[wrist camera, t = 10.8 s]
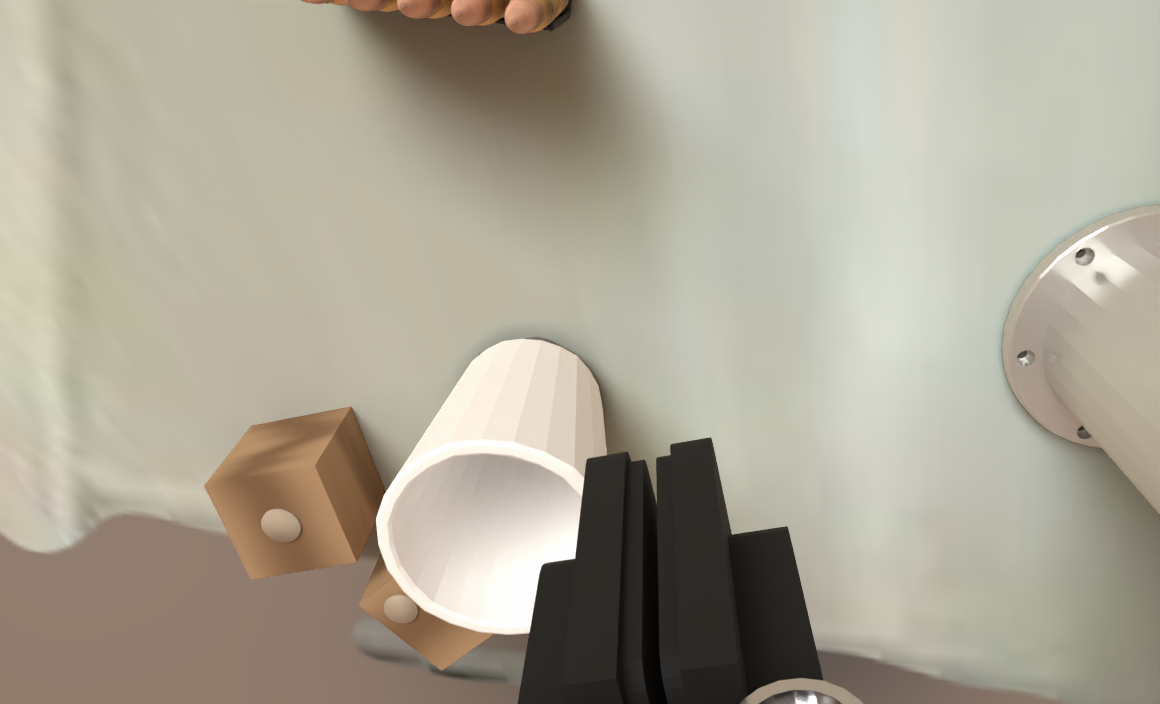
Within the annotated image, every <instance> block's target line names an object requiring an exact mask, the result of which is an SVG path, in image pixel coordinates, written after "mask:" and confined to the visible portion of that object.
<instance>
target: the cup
mask: <svg viewBox="0 0 1160 704" xmlns="http://www.w3.org/2000/svg"><path fill="white" fill-rule="evenodd" d="M605 455H607V448H606V438H605V428H604V418H603V408H602V400H601V396H600V390H599V387H598V383H597V381H596V379H595V377H594V375H593V374H592V373H591V372H590V370H589V369H588V368H587V367H586V365H585V364H584V363H583V362H582V361H581V360H580V359H579V358H578V356H576V355H574V354H573V353H571V352H569V351H567V350H566V349H564V348H562V347H560V346H559V345H557V344H555V343H553V342H552V341H550V340H548V339H544V338H538V337H533V338H525V339H516V340H508V341H502V342H500V343H498V344H496V345H494V346H492V347H490V348H488V349H486V350H485V351H484V352H482V353H480V354H479V355H478V356H477V357H476V358H475V359H474V360H473V361H472V362H471V364H470V365H469V366H468V368H467V369H466V371H465V372H464V374H463V375H462V377H461V378H460V380H459V381H458V383H457V384H456V386H455V387H454V389H453V391H452V392H451V394H450V395H449V397H448V398H447V400H446V401H445V403H444V404H443V406H442V407H441V409H440V410H439V412H438V413H437V415H436V416H435V418H434V420H433V421H432V423H431V424H430V426H429V427H428V429H427V430H426V432H425V433H424V435H423V436H422V438H421V439H420V441H419V442H418V444H417V445H416V447H415V449H414V450H413V452H412V453H411V455H410V456H409V458H408V459H407V461H406V462H405V464H404V465H403V467H402V468H401V470H400V471H399V473H398V474H397V476H396V478H395V479H394V481H393V482H392V484H391V485H390V487H389V488H388V490H387V491H386V493H385V494H384V496H383V499H382V502H381V505H380V508H379V511H378V514H377V517H376V526H377V536H378V545H379V548H380V551H381V553H382V556H383V559H384V561H385V564H386V567H387V570H388V571H389V572H390V574H391V575H392V576H393V578H394V579H395V581H396V582H397V583H398V585H399V586H400V587H401V589H402V590H403V592H404V593H406V594H407V595H408V596H409V597H410V598H411V599H412V600H413V601H414V602H415V603H416V604H418V605H419V606H420V607H421V608H422V609H423V610H424V611H426V612H428V613H430V614H432V615H434V616H436V617H438V618H440V619H442V620H444V621H446V622H448V623H450V624H453V625H457V626H460V627H463V628H466V629H470V630H473V631H476V632H481V633H492V634H503V635H515V634H528V633H530V627H531V621H532V615H533V609H534V603H535V597H536V591H537V585H538V579H539V574H540V570H541V566H542V565H543V564H544V563H549V562H555V561H562V560H569V559H575V554H576V545H577V537H578V528H579V519H580V510H581V502H582V493H583V484H584V476H585V467H586V461H587V459H588V458H593V457H599V456H605Z"/></svg>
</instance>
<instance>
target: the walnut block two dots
mask: <svg viewBox="0 0 1160 704" xmlns="http://www.w3.org/2000/svg"><path fill="white" fill-rule="evenodd" d="M359 606H361V607H362V608H363V609H364V610H366V611H367V612H368V613H369V614H371V615H372V616H373V617H374V618H376V619H377V620H378V621H379V622H381V623H382V624H383V625H384V626H386V627H387V628H388V629H390V630H391V631H392V632H393V633H395V634H396V635H397V636H398V637H400V638H401V639H402V640H403V641H405V642H406V643H407V644H408V645H410V646H411V647H412V648H413V649H415V650H416V651H417V652H418V653H420V654H421V655H422V656H423V657H425V658H426V659H427V660H428V661H430V662H431V663H432V664H434V665H435V666H436V667H437V668H439V669H440V670H441V671H442V670H443V669H445V668H446V667H448V666H449V665H450V664H452V663H453V662H455V661H456V660H458V659H459V658H460V657H462V656H463V655H465V654H466V653H467V652H469V651H470V650H472V649H473V648H475V647H476V646H477V645H479V644H480V643H482V642H483V641H484V640H486V639H487V638H489V637H490V636H491V635H493V634H492V633H481V632H476V631H473V630H470V629H466V628H463V627H460V626H457V625H453V624H450V623H448V622H446V621H444V620H442V619H440V618H438V617H436V616H434V615H432V614H430V613H428V612H426V611H424V610H423V609H422V608H421V607H420V606H419V605H418V604H416V603H415V602H414V601H413V600H412V599H411V598H410V597H409V596H408V595H407V594H406V593H404V592H403V590H402V589H401V587H400V586H399V585H398V583H397V582H396V581H395V579H394V578H393V576H392V575H391V574H390V572H389V571H388V570H387V567H386V564H385V561H384V559H383V556H382V553H381V554H380V556H379V559H378V561H377V563H376V566H375V568H374V571H373V573H372V575H371V578H370V580H369V583H368V585H367V587H366V590H365V592H364V595H363V597H362V599H361V602H360V604H359Z"/></svg>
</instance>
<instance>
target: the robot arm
mask: <svg viewBox="0 0 1160 704" xmlns="http://www.w3.org/2000/svg"><path fill="white" fill-rule="evenodd" d="M1080 249H1081V252H1080V253H1079V254H1077V255H1076V253H1077V252H1078V251H1079V250H1080ZM1022 351H1023V352H1022ZM1020 352H1022V353H1021V354H1019V353H1020ZM1002 354H1003V363H1004V370H1005V373H1006V376H1007V378H1008V381H1009V384H1010V387H1011V389H1012V390H1013V392H1014V393H1015V395H1016V396H1017V398H1018V399H1019V401H1020V403H1021V404H1022V405H1023V407H1024V408H1025V409H1026V410H1027V411H1028V412H1029V413H1030V415H1031V416H1032V417H1033V418H1034V419H1035V420H1036V421H1037V422H1038V423H1040V424H1041V425H1042V426H1044V427H1045V428H1046V429H1048V430H1049V431H1050V432H1052V433H1054V434H1056V435H1058V436H1060V437H1063V438H1065V439H1067V440H1069V441H1071V442H1075V443H1079V444H1083V445H1087V446H1091V447H1097V448H1102V449H1103V450H1104V451H1105V452H1106V453H1107V454H1108V455H1109V457H1110V458H1111V459H1112V460H1113V461H1114V462H1115V464H1116V465H1117V466H1118V467H1119V468H1120V469H1121V471H1122V472H1123V473H1124V474H1125V475H1126V476H1127V477H1128V479H1129V480H1130V481H1131V482H1132V483H1133V484H1134V486H1135V487H1136V488H1137V489H1138V490H1139V491H1140V493H1141V494H1142V495H1143V496H1144V497H1145V498H1146V499H1147V501H1148V502H1149V503H1150V504H1151V505H1152V506H1153V508H1154V509H1155V510H1156V511H1157V512H1158V513H1159V514H1160V205H1153V206H1144V207H1138V208H1134V209H1131V210H1127V211H1124V212H1120V213H1116V214H1113V215H1110V216H1108V217H1106V218H1104V219H1102V220H1099V221H1097V222H1095V223H1093V224H1091V225H1088V226H1086V227H1084V228H1083V229H1081V230H1080V231H1078V232H1077V233H1075V234H1074V235H1072V236H1071V237H1069V238H1068V239H1066V240H1065V241H1063V242H1062V243H1060V244H1059V245H1058V246H1057V247H1056V248H1055V249H1054V250H1053V251H1052V252H1050V253H1049V254H1048V255H1047V256H1046V257H1045V258H1044V259H1043V260H1041V262H1040V263H1039V264H1038V265H1037V266H1036V268H1035V269H1034V270H1033V271H1032V273H1031V274H1030V275H1029V276H1028V278H1027V279H1026V280H1025V281H1024V283H1023V285H1022V287H1021V288H1020V290H1019V292H1018V294H1017V296H1016V297H1015V299H1014V301H1013V303H1012V305H1011V308H1010V311H1009V314H1008V317H1007V320H1006V323H1005V326H1004V335H1003V343H1002ZM670 452H671V455H669V456H663V457H658V458H657V459H656V470H657V504H656V500H655V496H654V492H653V488H652V484H651V479H650V475H649V471H648V468H647V464H646V462H645V460H640V461H634V462H631V459H630V456H629V454H628V452H622V453H617V454H611V455H605V456H599V457H593V458H588V459H587V461H586V467H585V476H584V484H583V493H582V502H581V510H580V519H579V528H578V537H577V545H576V554H575V559H569V560H562V561H555V562H549V563H544V564H543V565H542V566H541V570H540V574H539V579H538V585H537V591H536V597H535V603H534V609H533V615H532V621H531V627H530V633H529V639H528V645H527V651H526V657H525V663H524V669H523V675H522V681H521V687H520V693H519V699H518V704H863V703H862V701H860V700H859V699H858V698H856V697H855V696H854V695H852V694H851V693H849V692H848V691H847V690H845V689H844V688H841V687H839V686H836V685H834V684H831V683H828V682H826V681H823V677H822V673H821V668H820V664H819V660H818V656H817V651H816V647H815V642H814V638H813V634H812V629H811V625H810V621H809V616H808V612H807V608H806V603H805V599H804V595H803V590H802V586H801V582H800V577H799V573H798V569H797V565H796V560H795V556H794V552H793V547H792V543H791V539H790V534H789V530H788V527H780V528H773V529H767V530H760V531H753V532H747V533H740V534H734V535H732V534H731V529H730V524H729V519H728V514H727V510H726V505H725V500H724V495H723V490H722V486H721V481H720V476H719V471H718V466H717V462H716V457H715V452H714V447H713V443H712V439H711V438H705V439H699V440H693V441H687V442H681V443H675V444H671V445H670Z"/></svg>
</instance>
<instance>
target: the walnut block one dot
mask: <svg viewBox="0 0 1160 704" xmlns="http://www.w3.org/2000/svg"><path fill="white" fill-rule="evenodd" d="M204 486H205V488H206V490H207V492H208V494H209V496H210V498H211V500H212V502H213V504H214V506H215V508H216V510H217V512H218V514H219V516H220V518H221V520H222V522H223V524H224V526H225V528H226V530H227V532H228V534H229V536H230V538H231V540H232V542H233V544H234V546H235V548H236V551H237V553H238V555H239V556H240V559H241V561H242V563H243V565H244V566H245V569H246V571H247V573H248V575H249V576H250V578H251V580H252V579H258V578H263V577H270V576H276V575H282V574H289V573H295V572H301V571H307V570H314V569H319V568H326V567H332V566H338V565H344V564H351V563H357V561H358V559H359V557H360V555H361V552H362V550H363V548H364V546H365V544H366V541H367V539H368V537H369V535H370V533H371V531H372V528H373V526H374V524H375V522H376V517H377V514H378V511H379V508H380V505H381V502H382V499H383V496H384V494H385V493H386V492H385V489H384V487H383V484H382V482H381V479H380V477H379V474H378V472H377V469H376V467H375V464H374V462H373V459H372V457H371V454H370V452H369V449H368V447H367V445H366V442H365V440H364V437H363V435H362V432H361V430H360V427H359V425H358V422H357V420H356V417H355V415H354V412H353V410H352V407H346V408H341V409H336V410H331V411H325V412H320V413H315V414H310V415H305V416H300V417H294V418H289V419H284V420H279V421H274V422H269V423H263V424H258V425H253V426H251V427H250V428H249V430H248V431H247V432H246V434H245V435H244V436H243V437H242V439H241V440H240V441H239V442H238V444H237V445H236V446H235V447H234V449H233V450H232V451H231V452H230V454H229V455H228V456H227V458H226V459H225V460H224V461H223V463H222V464H221V465H220V466H219V468H218V469H217V470H216V471H215V473H214V474H213V475H212V476H211V478H210V479H209V480H208V482H207V483H206V484H205V485H204Z"/></svg>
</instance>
